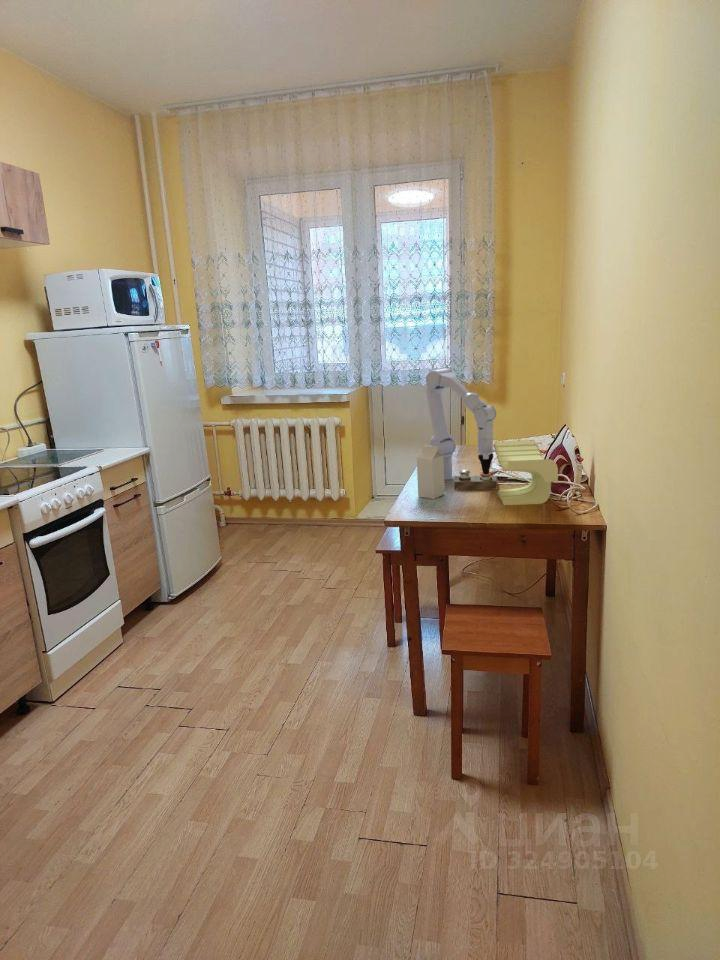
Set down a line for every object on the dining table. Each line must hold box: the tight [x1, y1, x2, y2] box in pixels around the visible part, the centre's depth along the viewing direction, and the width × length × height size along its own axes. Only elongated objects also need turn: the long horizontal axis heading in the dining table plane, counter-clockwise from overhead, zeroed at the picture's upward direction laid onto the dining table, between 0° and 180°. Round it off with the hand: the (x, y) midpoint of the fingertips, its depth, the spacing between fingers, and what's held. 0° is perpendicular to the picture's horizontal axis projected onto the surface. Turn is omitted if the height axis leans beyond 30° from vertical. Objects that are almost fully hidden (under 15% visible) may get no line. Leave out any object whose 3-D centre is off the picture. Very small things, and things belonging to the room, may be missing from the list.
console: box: [453, 475, 498, 490], centre depth 228 cm, size 16×8×3 cm, turn 79°
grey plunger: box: [459, 468, 471, 480], centre depth 228 cm, size 4×4×4 cm
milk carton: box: [416, 444, 446, 500], centre depth 217 cm, size 7×7×19 cm
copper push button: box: [480, 471, 492, 480], centre depth 226 cm, size 4×4×4 cm
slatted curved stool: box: [494, 439, 559, 506], centre depth 207 cm, size 30×16×18 cm, turn 175°
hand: (485, 473), depth 226 cm, fingers closed, pressing on copper push button
